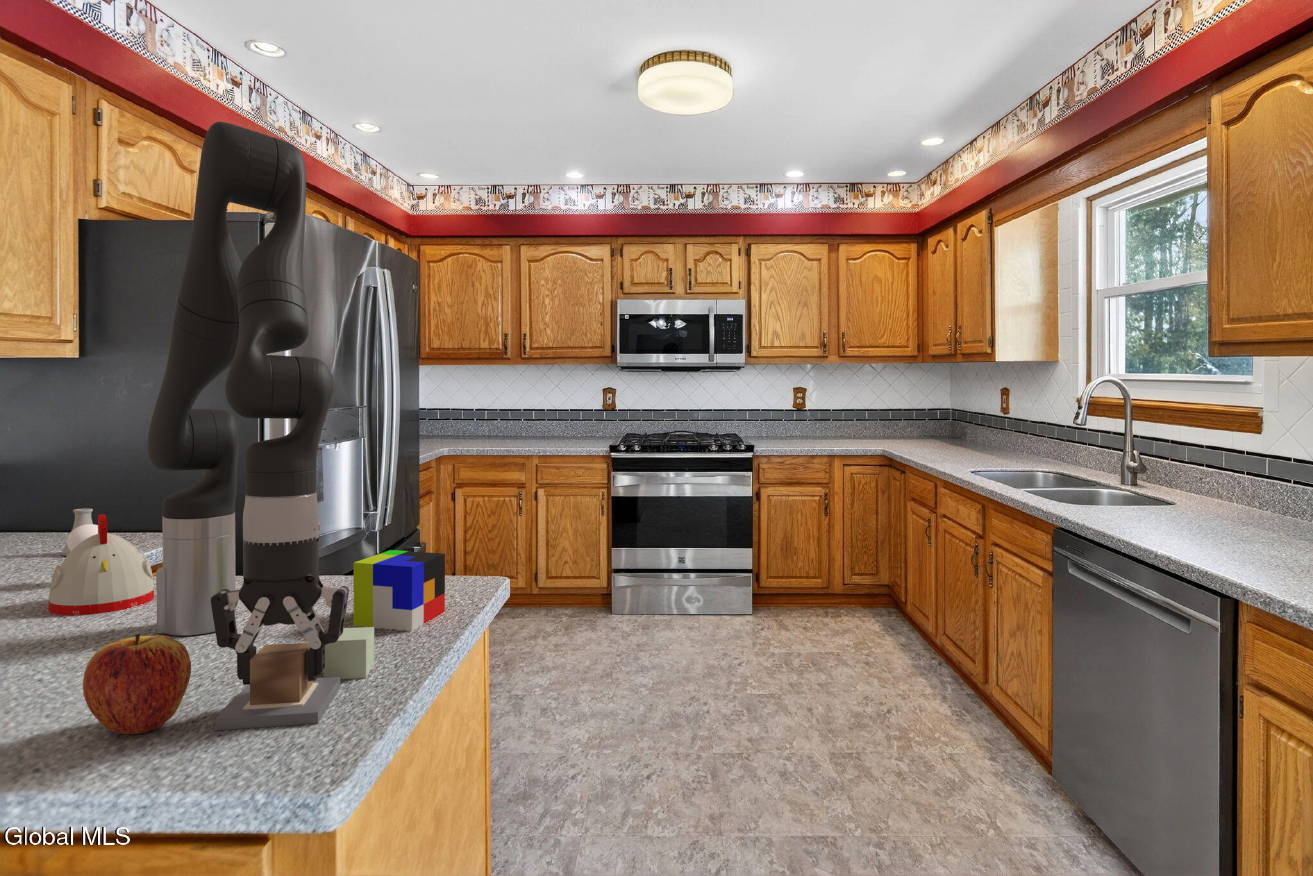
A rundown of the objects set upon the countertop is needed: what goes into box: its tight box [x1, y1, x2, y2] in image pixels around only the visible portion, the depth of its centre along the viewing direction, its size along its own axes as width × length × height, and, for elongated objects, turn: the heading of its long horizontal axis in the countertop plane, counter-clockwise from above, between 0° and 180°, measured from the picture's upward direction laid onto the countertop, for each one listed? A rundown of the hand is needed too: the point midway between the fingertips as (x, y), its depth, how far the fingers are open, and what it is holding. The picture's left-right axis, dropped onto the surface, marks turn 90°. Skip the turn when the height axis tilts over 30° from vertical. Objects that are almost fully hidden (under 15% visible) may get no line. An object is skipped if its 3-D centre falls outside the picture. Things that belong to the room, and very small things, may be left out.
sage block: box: [323, 627, 375, 680], centre depth 89 cm, size 5×5×5 cm
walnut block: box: [250, 642, 312, 705], centre depth 78 cm, size 5×5×5 cm
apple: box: [82, 633, 192, 735], centre depth 73 cm, size 9×9×10 cm
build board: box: [214, 677, 341, 731], centre depth 79 cm, size 10×10×1 cm
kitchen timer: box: [48, 514, 155, 616], centre depth 117 cm, size 14×14×15 cm
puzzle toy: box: [353, 549, 446, 632], centre depth 111 cm, size 10×10×10 cm
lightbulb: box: [66, 523, 98, 551], centre depth 129 cm, size 6×6×11 cm
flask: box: [60, 508, 94, 557], centre depth 153 cm, size 7×7×10 cm
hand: (282, 679), depth 78 cm, fingers open, 6 cm apart
